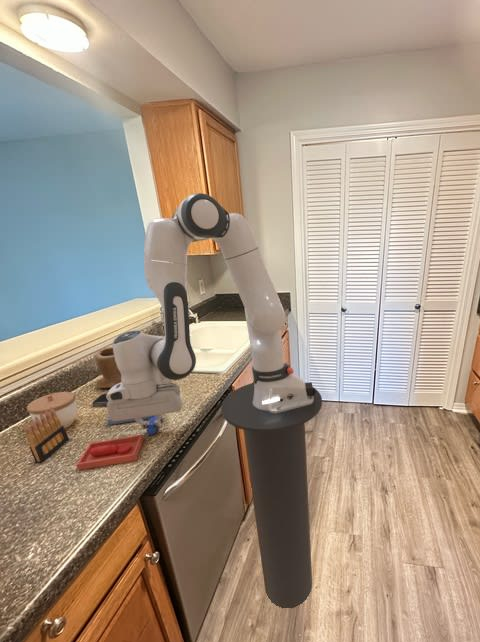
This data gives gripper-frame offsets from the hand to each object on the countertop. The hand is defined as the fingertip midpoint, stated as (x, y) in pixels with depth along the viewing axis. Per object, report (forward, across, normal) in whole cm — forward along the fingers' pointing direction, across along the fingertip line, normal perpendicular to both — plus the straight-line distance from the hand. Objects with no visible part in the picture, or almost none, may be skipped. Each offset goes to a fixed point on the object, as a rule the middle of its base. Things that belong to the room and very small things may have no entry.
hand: (151, 427), depth 100 cm
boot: (+2, +22, -44) cm, 49 cm away
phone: (+2, +17, -26) cm, 31 cm away
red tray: (+2, +9, +9) cm, 13 cm away
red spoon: (+1, +9, +9) cm, 13 cm away
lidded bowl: (+2, +31, -13) cm, 34 cm away
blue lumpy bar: (+2, 0, -2) cm, 3 cm away
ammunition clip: (+2, +27, +2) cm, 27 cm away
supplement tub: (+2, +3, -31) cm, 31 cm away
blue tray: (+2, +8, -13) cm, 16 cm away
